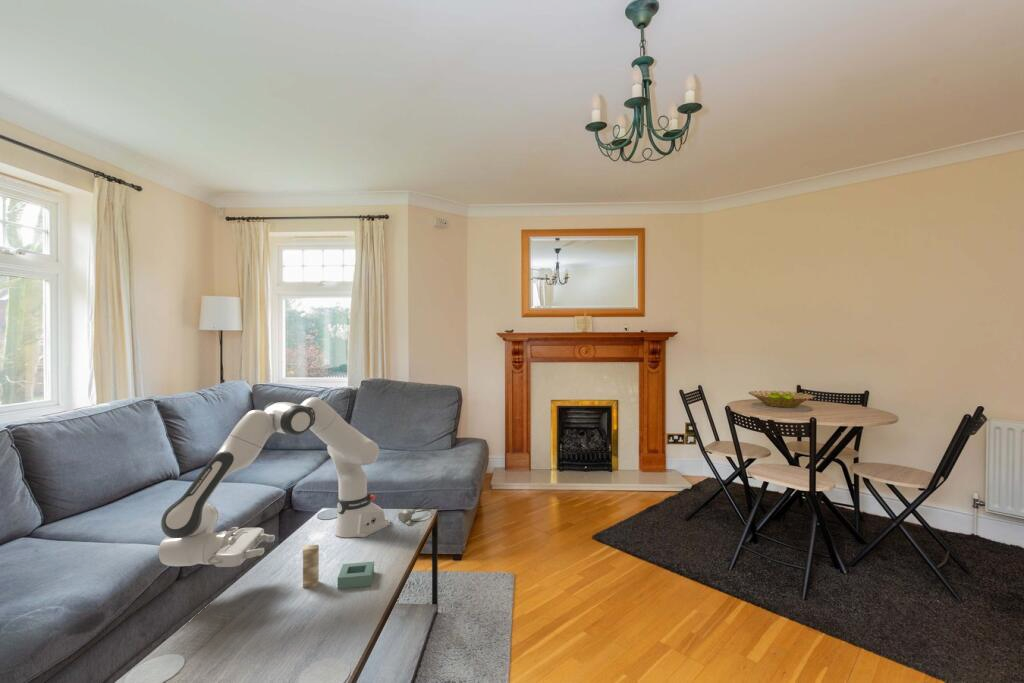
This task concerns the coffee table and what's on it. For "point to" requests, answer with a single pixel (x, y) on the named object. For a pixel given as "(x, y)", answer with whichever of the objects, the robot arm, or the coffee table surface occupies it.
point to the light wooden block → (310, 566)
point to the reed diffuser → (410, 514)
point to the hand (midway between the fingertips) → (269, 544)
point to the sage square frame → (356, 575)
